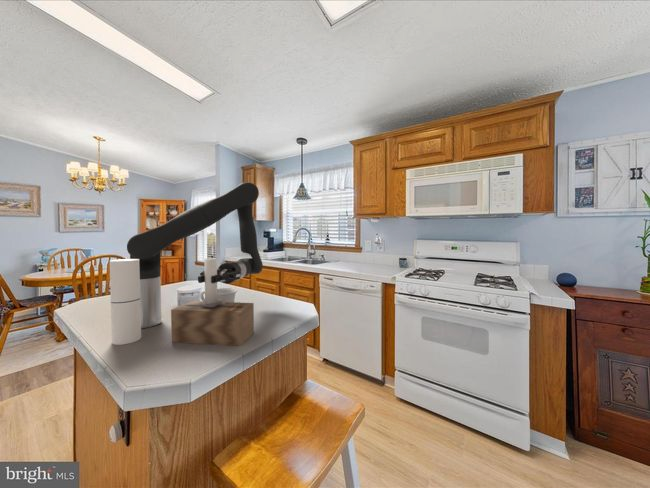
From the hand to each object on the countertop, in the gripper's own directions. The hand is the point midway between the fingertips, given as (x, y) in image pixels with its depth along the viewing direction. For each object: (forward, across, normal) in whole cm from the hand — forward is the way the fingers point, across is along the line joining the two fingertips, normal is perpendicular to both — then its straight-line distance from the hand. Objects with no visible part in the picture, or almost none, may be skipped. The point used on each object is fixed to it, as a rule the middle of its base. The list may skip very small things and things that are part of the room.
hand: (205, 279), depth 76 cm
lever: (-3, 0, +9) cm, 9 cm away
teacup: (-23, -9, +19) cm, 31 cm away
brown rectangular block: (-3, +1, +19) cm, 19 cm away
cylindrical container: (+2, -25, +19) cm, 32 cm away
